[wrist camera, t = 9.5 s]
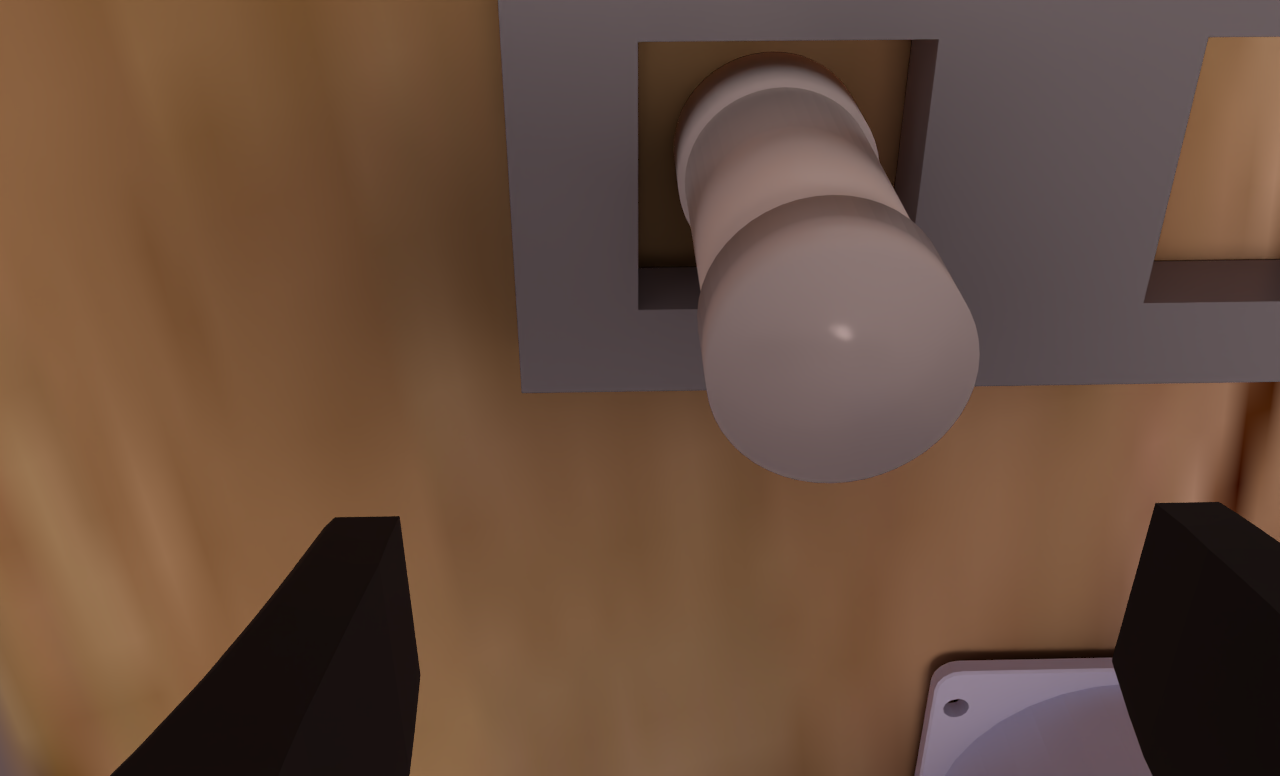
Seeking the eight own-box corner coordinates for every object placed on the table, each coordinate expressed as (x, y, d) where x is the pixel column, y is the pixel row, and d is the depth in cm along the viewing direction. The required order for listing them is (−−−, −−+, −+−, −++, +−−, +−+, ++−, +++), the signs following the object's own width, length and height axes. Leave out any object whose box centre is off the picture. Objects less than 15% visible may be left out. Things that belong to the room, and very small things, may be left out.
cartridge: (853, 231, 20) (959, 480, 14) (672, 234, 20) (702, 485, 14) (871, 51, 18) (999, 245, 13) (674, 53, 18) (710, 248, 12)
